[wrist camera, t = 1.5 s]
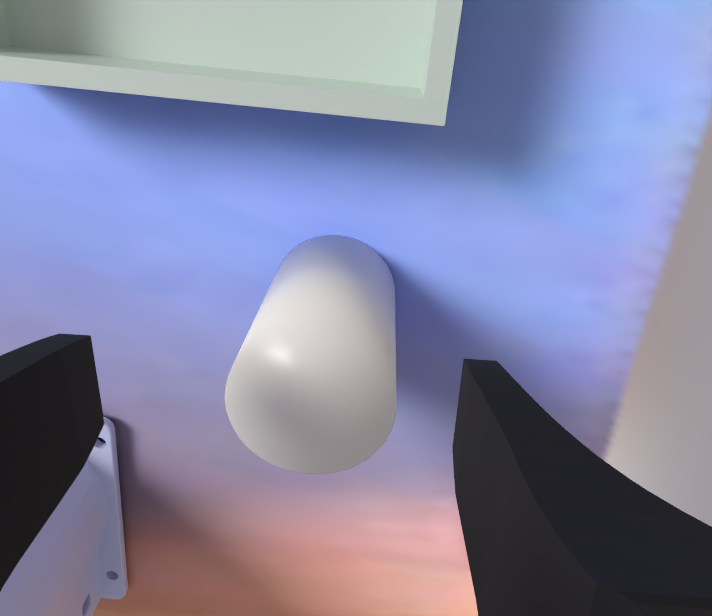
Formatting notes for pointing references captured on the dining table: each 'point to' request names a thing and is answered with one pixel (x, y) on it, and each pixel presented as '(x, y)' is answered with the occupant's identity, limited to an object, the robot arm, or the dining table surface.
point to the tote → (243, 52)
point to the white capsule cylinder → (319, 360)
